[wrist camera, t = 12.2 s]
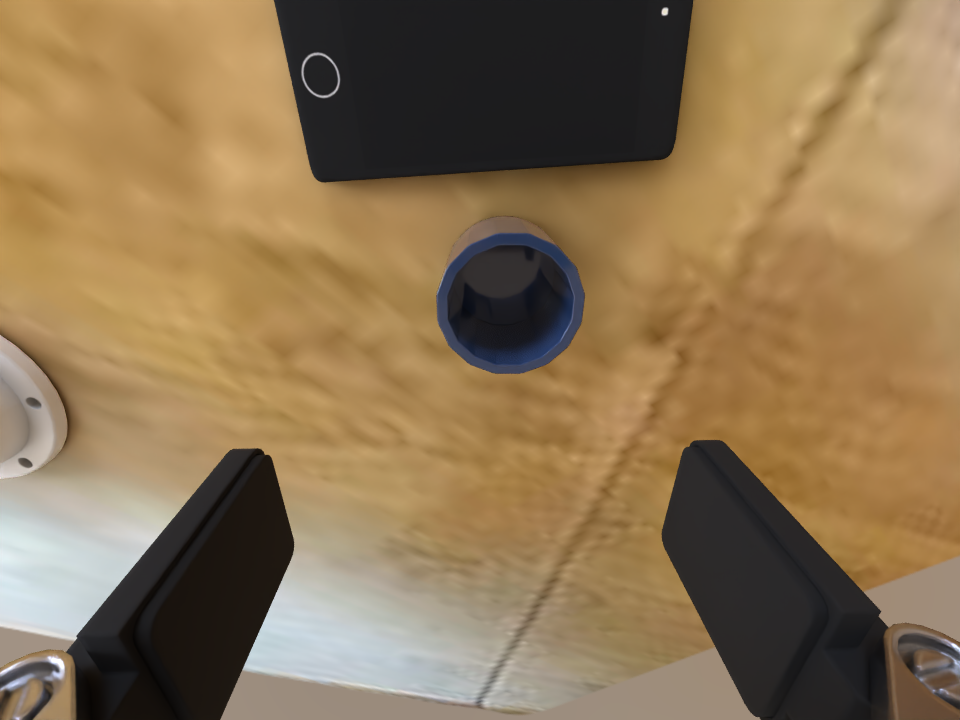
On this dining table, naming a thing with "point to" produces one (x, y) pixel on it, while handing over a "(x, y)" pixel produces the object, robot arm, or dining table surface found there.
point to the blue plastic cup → (508, 297)
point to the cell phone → (483, 83)
